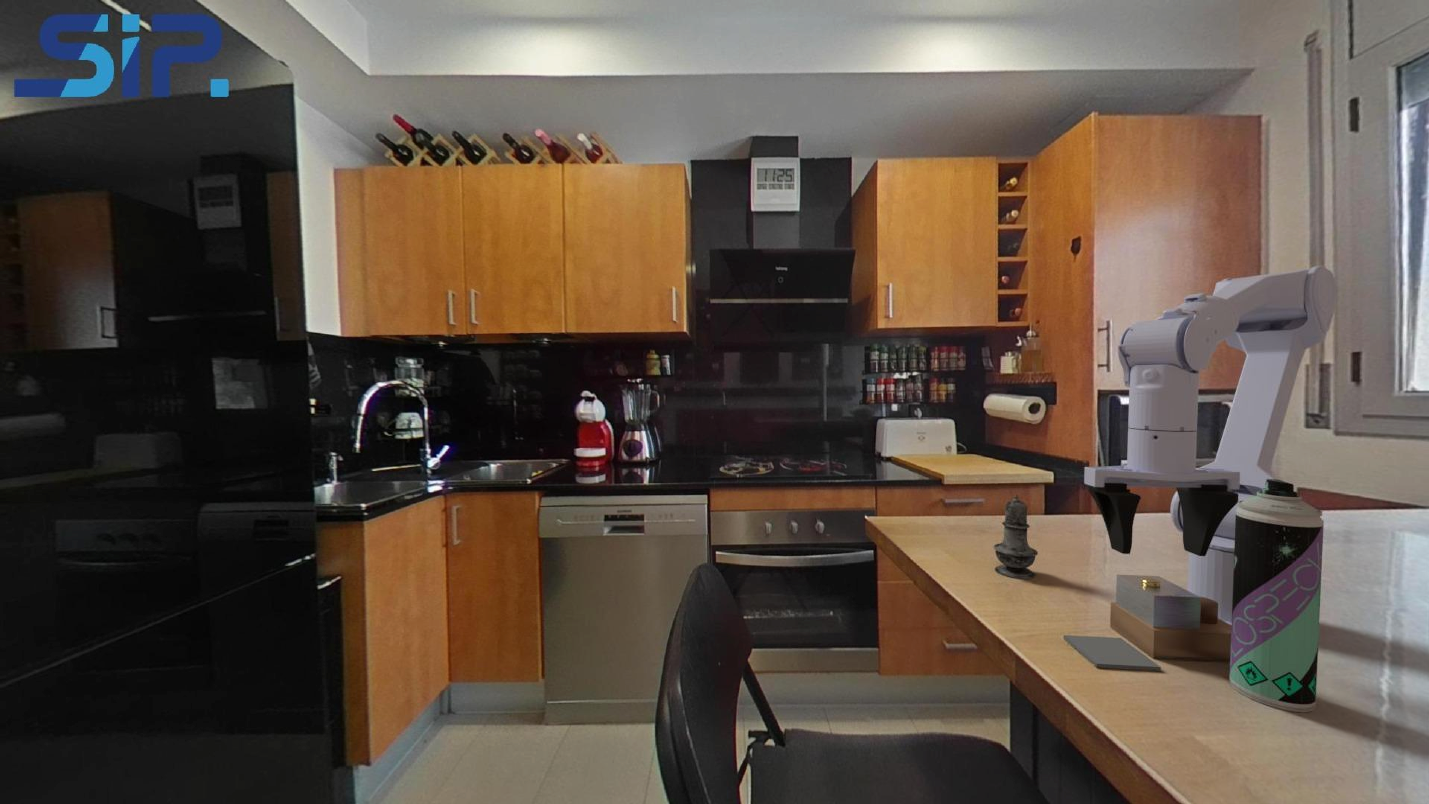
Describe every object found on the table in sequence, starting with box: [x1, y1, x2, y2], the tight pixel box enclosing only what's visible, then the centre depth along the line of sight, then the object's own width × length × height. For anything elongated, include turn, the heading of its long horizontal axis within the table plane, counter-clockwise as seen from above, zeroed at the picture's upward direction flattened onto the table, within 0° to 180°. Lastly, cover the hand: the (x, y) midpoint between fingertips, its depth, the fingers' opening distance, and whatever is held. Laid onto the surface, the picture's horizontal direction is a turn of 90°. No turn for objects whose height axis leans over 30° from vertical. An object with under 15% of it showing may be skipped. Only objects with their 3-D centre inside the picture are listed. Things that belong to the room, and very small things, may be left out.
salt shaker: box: [992, 494, 1039, 580], centre depth 79 cm, size 6×6×12 cm
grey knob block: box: [1115, 574, 1201, 630], centre depth 58 cm, size 4×6×4 cm
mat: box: [1063, 634, 1162, 672], centre depth 56 cm, size 6×6×1 cm
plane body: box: [1109, 596, 1231, 663], centre depth 58 cm, size 9×7×5 cm
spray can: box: [1229, 479, 1325, 713], centre depth 48 cm, size 6×6×20 cm
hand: (1157, 552), depth 58 cm, fingers open, 7 cm apart
